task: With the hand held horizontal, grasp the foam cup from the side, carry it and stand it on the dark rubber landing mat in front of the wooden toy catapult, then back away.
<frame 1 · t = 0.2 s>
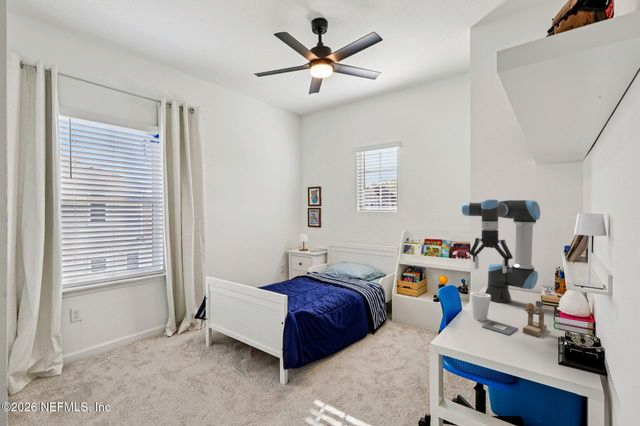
hand: (490, 270, 159), 27 cm above the table, tool pointing down, fingers open, 13 cm apart
catapult: (534, 331, 150), on the table
foam cup: (479, 318, 166), on the table
landing mat: (499, 328, 153), on the table
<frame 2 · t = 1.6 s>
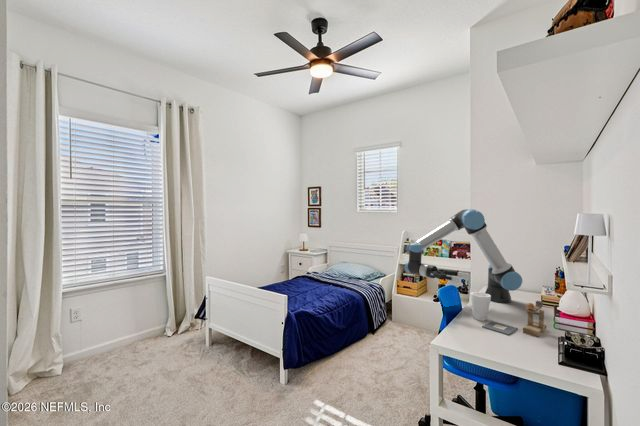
hand: (463, 278, 172), 20 cm above the table, tool horizontal, fingers open, 13 cm apart
nothing on the table moved.
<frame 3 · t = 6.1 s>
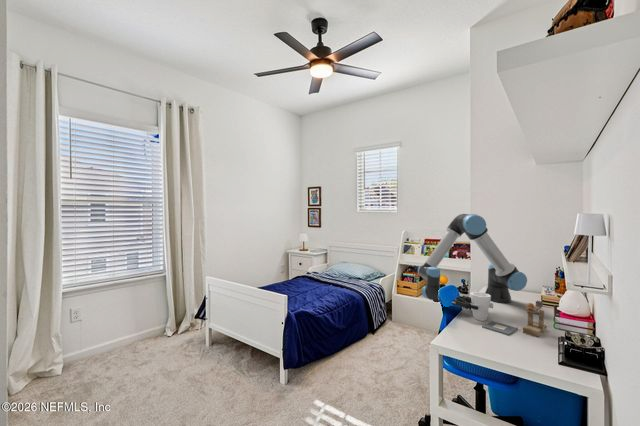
hand: (489, 307, 162), 7 cm above the table, tool horizontal, fingers closed on foam cup, 9 cm apart
foam cup: (479, 318, 166), on the table, touching gripper
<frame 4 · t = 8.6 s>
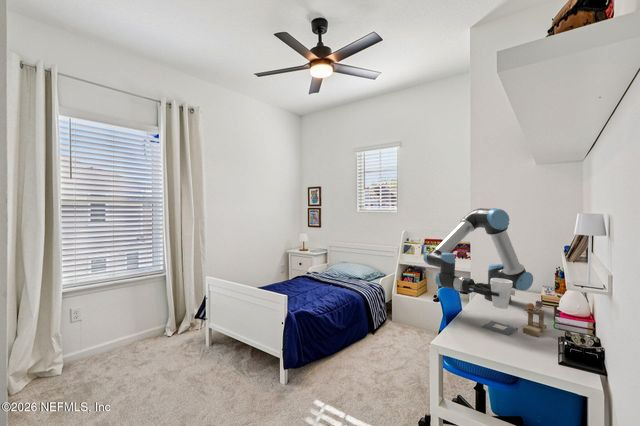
hand: (511, 294, 149), 18 cm above the table, tool horizontal, fingers closed on foam cup, 9 cm apart
foam cup: (500, 306, 153), point 11 cm above the table, touching gripper
when the fingers open (8 cm above the table, at t = 11.3 s): foam cup stays where it is, resting on landing mat.
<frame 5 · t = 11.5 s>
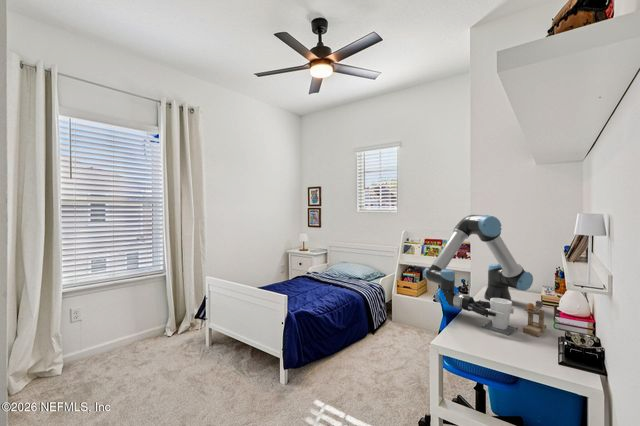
hand: (508, 313, 150), 8 cm above the table, tool horizontal, fingers open, 12 cm apart
foam cup: (499, 327, 153), point 1 cm above the table, touching landing mat
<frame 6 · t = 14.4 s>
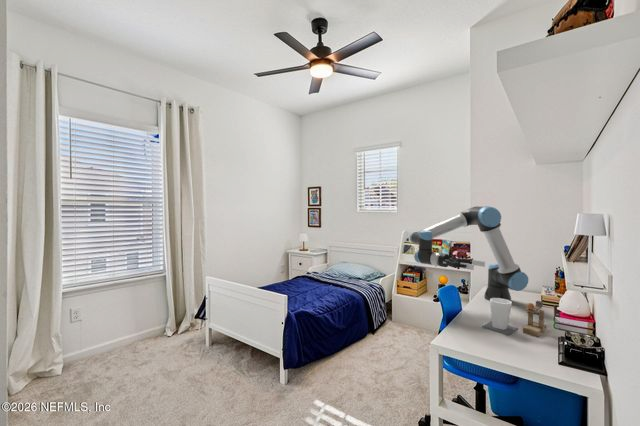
hand: (479, 265, 160), 29 cm above the table, tool horizontal, fingers open, 13 cm apart
nothing on the table moved.
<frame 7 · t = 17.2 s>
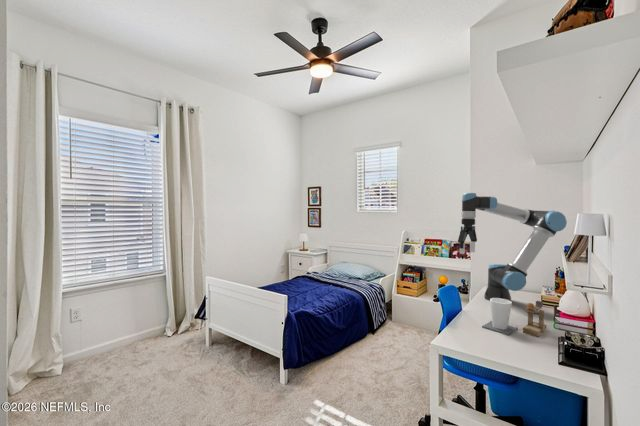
hand: (467, 252, 189), 32 cm above the table, tool pointing down, fingers open, 13 cm apart
nothing on the table moved.
at the end: foam cup inside the target area on the landing mat (0.1 cm from its centre), point 0.5 cm above the landing mat's base; foam cup tilted 0°; the gripper is holding nothing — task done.
